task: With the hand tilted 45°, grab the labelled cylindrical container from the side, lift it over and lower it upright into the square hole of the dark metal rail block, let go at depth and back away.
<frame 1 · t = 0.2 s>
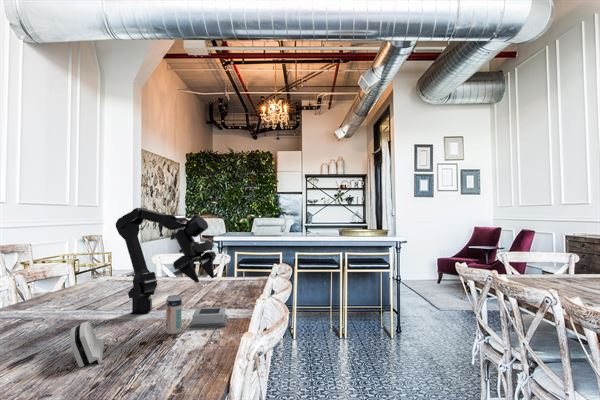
hand: (205, 279, 139), 15 cm above the table, tool tilted 35°, fingers open, 9 cm apart
grey grooved device: (86, 357, 105), on the table
labelled cylindrical container: (173, 333, 124), on the table
rail block: (209, 322, 136), on the table
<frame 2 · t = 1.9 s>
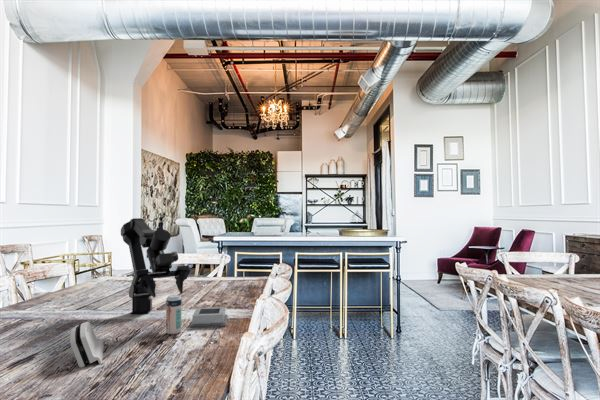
hand: (168, 294, 128), 12 cm above the table, tool tilted 45°, fingers open, 9 cm apart
nothing on the table moved.
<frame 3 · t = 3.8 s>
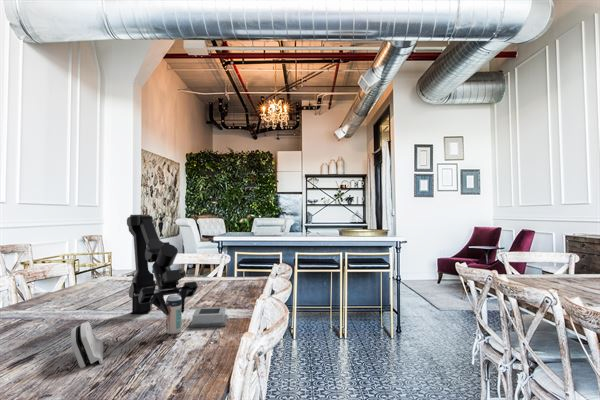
hand: (175, 313, 123), 7 cm above the table, tool tilted 45°, fingers closed on labelled cylindrical container, 5 cm apart
labelled cylindrical container: (173, 333, 124), on the table, touching gripper
everything else where it was.
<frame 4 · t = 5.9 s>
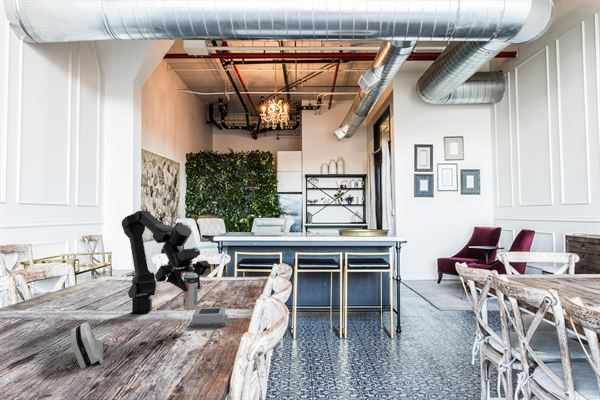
hand: (192, 290, 128), 13 cm above the table, tool tilted 45°, fingers closed on labelled cylindrical container, 5 cm apart
labelled cylindrical container: (190, 309, 129), point 6 cm above the table, touching gripper
everything else where it was.
when the fingers open (9 cm above the table, at t = 8.1 s): labelled cylindrical container drops 1 cm, resting on rail block.
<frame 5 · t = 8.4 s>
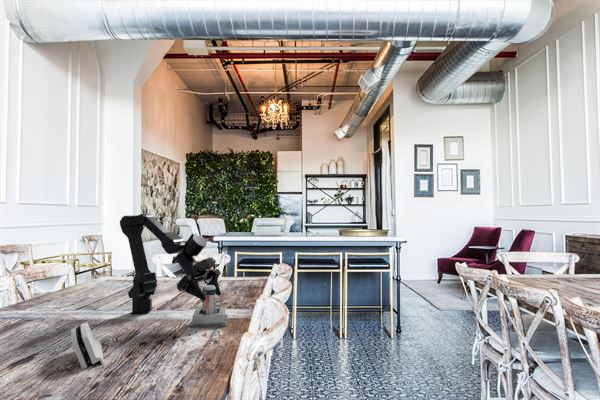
hand: (212, 297, 136), 9 cm above the table, tool tilted 45°, fingers open, 8 cm apart
labelled cylindrical container: (209, 319, 136), point 1 cm above the table, touching rail block
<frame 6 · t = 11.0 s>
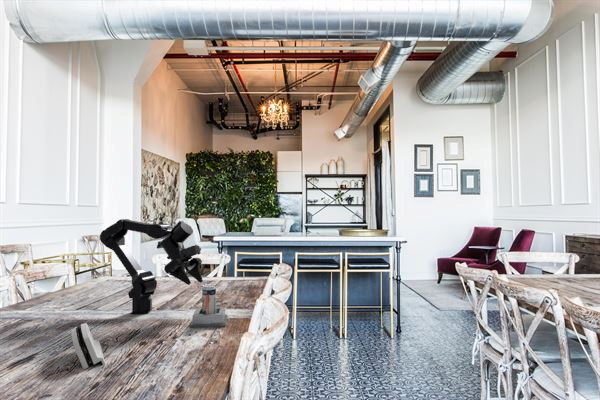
hand: (195, 282, 143), 13 cm above the table, tool tilted 40°, fingers open, 9 cm apart
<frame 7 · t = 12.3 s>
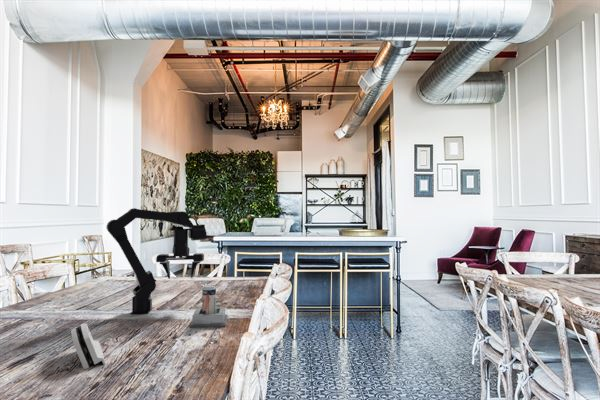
hand: (180, 278, 159), 12 cm above the table, tool pointing down, fingers open, 9 cm apart
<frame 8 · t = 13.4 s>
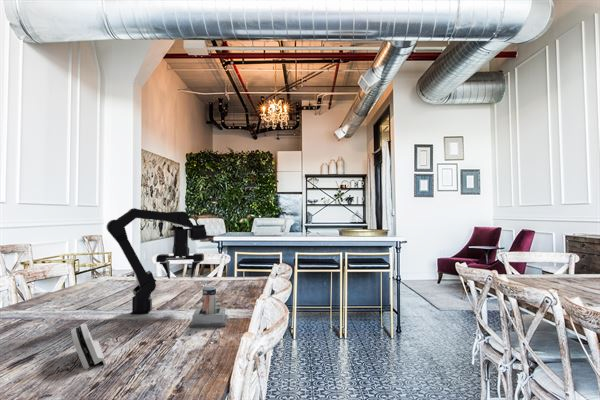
hand: (180, 278, 159), 12 cm above the table, tool pointing down, fingers open, 9 cm apart
at the end: labelled cylindrical container 0.2 cm off-centre on the rail block, point 0.8 cm above the rail block's base; labelled cylindrical container tilted 0°; the gripper is holding nothing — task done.
